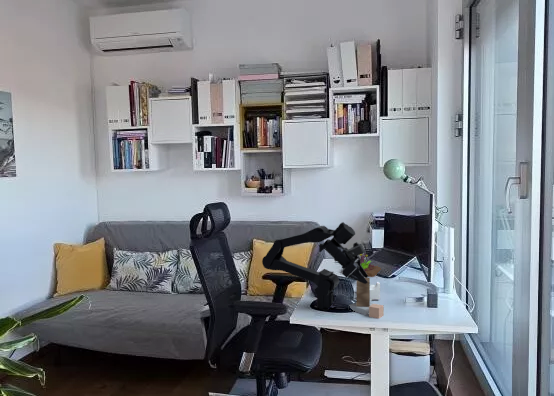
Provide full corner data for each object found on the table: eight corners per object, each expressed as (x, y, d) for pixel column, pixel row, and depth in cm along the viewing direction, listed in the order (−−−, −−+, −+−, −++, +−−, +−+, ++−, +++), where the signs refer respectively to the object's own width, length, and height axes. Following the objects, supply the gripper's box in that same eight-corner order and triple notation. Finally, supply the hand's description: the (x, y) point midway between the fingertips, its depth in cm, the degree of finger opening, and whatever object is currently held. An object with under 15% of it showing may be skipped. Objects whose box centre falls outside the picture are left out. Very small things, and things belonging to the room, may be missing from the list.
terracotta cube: (379, 318, 173) (378, 308, 173) (369, 316, 175) (368, 306, 175) (383, 315, 176) (383, 305, 176) (373, 313, 178) (373, 303, 178)
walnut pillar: (356, 306, 181) (356, 281, 180) (356, 301, 186) (356, 277, 185) (369, 306, 180) (369, 281, 179) (369, 302, 185) (369, 277, 184)
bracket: (380, 301, 194) (380, 283, 194) (362, 301, 194) (362, 283, 194) (374, 292, 207) (374, 275, 206) (358, 292, 207) (358, 276, 207)
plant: (337, 275, 239) (337, 254, 238) (347, 267, 257) (347, 247, 256) (377, 278, 231) (376, 256, 230) (384, 269, 249) (384, 248, 248)
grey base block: (365, 316, 178) (365, 309, 177) (349, 311, 184) (348, 305, 184) (378, 311, 183) (378, 304, 182) (362, 306, 189) (362, 300, 189)
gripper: (350, 241, 173) (382, 271, 171) (353, 233, 191) (381, 260, 189) (329, 262, 175) (360, 292, 173) (334, 252, 193) (362, 279, 192)
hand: (367, 279), depth 182 cm, fingers open, 9 cm apart
